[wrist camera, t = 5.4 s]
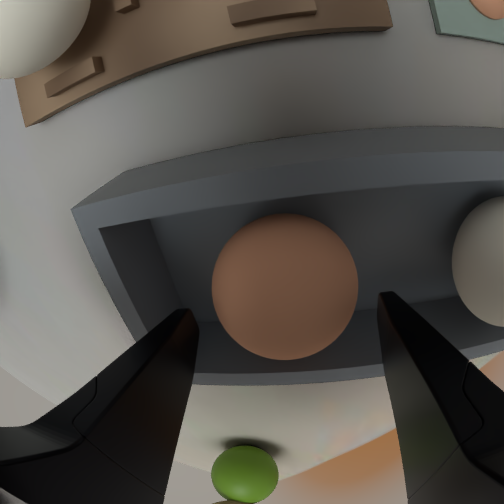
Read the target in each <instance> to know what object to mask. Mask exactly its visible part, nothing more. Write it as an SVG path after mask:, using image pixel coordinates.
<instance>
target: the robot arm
mask: <svg viewBox="0 0 504 504" xmlns="http://www.w3.org/2000/svg"><path fill="white" fill-rule="evenodd" d="M377 324H378V331H379V338H380V346H381V354H382V362H383V368H384V373H385V378H386V382H387V386H388V391H389V395H390V400H391V404H392V409H393V414H394V419H395V424H396V429H397V434H398V439H399V445H400V451H401V456H402V463H403V469H404V475H405V483H406V490H407V498H408V499H409V500H408V504H504V392H503V391H502V390H501V389H500V388H499V387H498V386H496V385H495V384H494V383H493V382H491V381H490V380H489V379H488V378H487V377H486V376H485V375H484V374H483V373H482V372H481V371H480V370H479V369H478V368H477V367H476V366H475V365H474V364H473V363H472V362H469V360H468V359H467V358H466V357H465V356H464V355H463V354H462V353H461V352H460V351H459V350H458V349H457V348H456V347H455V346H454V345H453V344H452V343H451V342H449V341H448V340H447V339H446V338H445V337H444V336H443V335H442V334H441V333H440V332H439V331H438V330H437V329H435V328H434V327H433V326H432V325H431V324H430V323H429V322H428V321H427V320H426V319H424V318H423V317H422V316H421V315H420V314H419V313H418V312H417V311H415V310H414V309H413V308H412V307H411V306H410V305H409V304H408V303H406V302H405V301H404V300H403V299H402V298H401V297H400V296H398V295H397V294H396V293H395V292H394V291H385V292H380V293H379V294H378V304H377ZM199 335H200V331H199V327H198V324H197V322H196V319H195V317H194V315H193V312H192V310H191V309H189V308H178V309H176V310H175V311H173V312H172V313H171V314H170V315H169V316H167V317H166V318H165V319H164V320H163V321H161V322H160V323H159V324H158V325H157V326H155V327H154V328H153V329H152V330H151V331H149V332H148V333H147V334H146V335H145V336H143V337H142V338H141V339H140V340H139V341H137V342H136V343H135V344H134V345H133V346H131V347H130V348H129V349H128V350H126V351H125V352H124V353H123V354H122V355H120V356H119V357H118V358H117V359H116V360H115V361H113V362H112V363H111V364H110V365H109V366H107V367H106V368H105V369H104V370H103V371H101V372H100V373H99V374H98V375H97V376H95V377H94V378H93V379H92V380H91V381H89V382H88V383H87V384H86V385H84V386H83V387H82V388H81V389H79V390H78V391H77V392H76V393H74V394H73V395H72V396H70V397H69V398H68V399H66V400H65V401H63V402H62V403H61V404H59V405H58V406H56V407H55V408H54V409H52V410H51V411H49V412H48V413H46V414H45V415H44V416H42V417H41V418H39V419H38V420H36V421H35V422H33V423H30V424H28V425H25V426H19V427H0V504H163V502H164V495H165V492H166V488H167V484H168V479H169V475H170V471H171V467H172V462H173V458H174V454H175V450H176V446H177V442H178V438H179V433H180V429H181V425H182V421H183V417H184V413H185V409H186V405H187V401H188V398H189V394H190V390H191V386H192V382H193V377H194V371H195V364H196V357H197V349H198V342H199Z"/></svg>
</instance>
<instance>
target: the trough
mask: <svg viewBox="0 0 504 504" xmlns="http://www.w3.org/2000/svg"><path fill="white" fill-rule="evenodd" d="M499 196H504V128H490V127H461V126H424V127H394V128H376V129H362V130H350V131H339V132H329V133H320V134H311V135H303V136H296V137H288V138H281V139H274V140H268V141H262V142H256V143H250V144H244V145H238V146H233V147H228V148H222V149H217V150H212V151H207V152H203V153H198V154H193V155H189V156H184V157H180V158H176V159H171V160H167V161H163V162H159V163H155V164H151V165H147V166H144V167H140V168H136V169H132V170H129V171H125V172H123V173H121V174H120V175H118V176H117V177H115V178H114V179H112V180H111V181H109V182H108V183H106V184H105V185H104V186H102V187H101V188H99V189H98V190H96V191H95V192H94V193H92V194H91V195H89V196H88V197H87V198H85V199H84V200H82V201H81V202H80V203H78V204H77V205H76V206H74V207H73V208H72V209H71V211H72V214H73V216H74V219H75V221H76V223H77V226H78V228H79V231H80V233H81V235H82V238H83V240H84V242H85V244H86V247H87V249H88V251H89V253H90V256H91V258H92V260H93V262H94V264H95V266H96V268H97V270H98V272H99V274H100V277H101V279H102V281H103V283H104V285H105V287H106V289H107V290H108V292H109V294H110V296H111V298H112V300H113V302H114V304H115V306H116V308H117V309H118V311H119V313H120V315H121V317H122V319H123V320H124V322H125V324H126V326H127V327H128V329H129V331H130V333H131V334H132V336H133V338H134V340H135V341H136V342H137V341H139V340H140V339H141V338H142V337H143V336H145V335H146V334H147V333H148V332H149V331H151V330H152V329H153V328H154V327H155V326H157V325H158V324H159V323H160V322H161V321H163V320H164V319H165V318H166V317H167V316H169V315H170V314H171V313H172V312H173V311H175V310H176V309H178V308H189V309H191V310H192V312H193V315H194V317H195V319H196V322H197V324H198V327H199V331H200V335H199V342H198V349H197V357H196V364H195V371H194V377H193V382H192V384H200V385H290V384H309V383H323V382H335V381H345V380H355V379H364V378H372V377H379V376H385V373H384V368H383V362H382V354H381V346H380V338H379V331H378V324H377V304H378V294H379V293H380V292H385V291H394V292H395V293H396V294H397V295H398V296H400V297H401V298H402V299H403V300H404V301H405V302H406V303H408V304H409V305H410V306H411V307H412V308H413V309H414V310H415V311H417V312H418V313H419V314H420V315H421V316H422V317H423V318H424V319H426V320H427V321H428V322H429V323H430V324H431V325H432V326H433V327H434V328H435V329H437V330H438V331H439V332H440V333H441V334H442V335H443V336H444V337H445V338H446V339H447V340H448V341H449V342H451V343H452V344H453V345H454V346H455V347H456V348H457V349H458V350H459V351H460V352H461V353H462V354H463V355H464V356H465V357H466V358H467V359H468V360H469V359H473V358H477V357H481V356H485V355H489V354H492V353H496V352H499V351H503V350H504V327H501V326H495V325H491V324H488V323H486V322H484V321H482V320H481V319H479V318H478V317H476V316H475V315H474V314H473V313H472V312H471V311H470V310H469V309H468V308H467V307H466V305H465V304H464V302H463V301H462V299H461V297H460V296H459V293H458V291H457V289H456V286H455V282H454V279H453V273H452V252H453V246H454V242H455V239H456V235H457V233H458V230H459V228H460V226H461V224H462V223H463V221H464V220H465V218H466V217H467V216H468V215H469V213H470V212H471V211H472V210H473V209H474V208H476V207H477V206H478V205H480V204H481V203H483V202H485V201H487V200H489V199H491V198H494V197H499ZM282 213H289V214H298V215H303V216H307V217H310V218H313V219H315V220H317V221H319V222H321V223H322V224H324V225H326V226H327V227H329V228H330V229H331V230H332V231H333V232H335V233H336V234H337V235H338V236H339V237H340V239H341V240H342V241H343V242H344V244H345V245H346V247H347V248H348V250H349V251H350V253H351V256H352V258H353V260H354V263H355V266H356V270H357V276H358V296H357V302H356V306H355V309H354V313H353V315H352V317H351V319H350V321H349V323H348V325H347V326H346V328H345V329H344V331H343V332H342V333H341V334H340V335H339V336H338V337H337V339H336V340H334V341H333V342H332V343H331V344H330V345H328V346H327V347H325V348H324V349H322V350H321V351H319V352H317V353H315V354H312V355H310V356H307V357H303V358H299V359H293V360H276V359H270V358H266V357H262V356H260V355H257V354H255V353H252V352H250V351H248V350H247V349H245V348H244V347H242V346H241V345H240V344H238V343H237V342H236V341H235V340H234V339H233V338H232V337H231V336H230V335H229V334H228V333H227V331H226V330H225V328H224V327H223V325H222V324H221V322H220V320H219V318H218V316H217V313H216V311H215V307H214V304H213V298H212V275H213V271H214V267H215V264H216V261H217V258H218V256H219V254H220V252H221V250H222V249H223V247H224V246H225V244H226V243H227V242H228V240H229V239H230V238H231V237H232V236H233V235H234V234H235V233H236V232H237V231H238V230H239V229H241V228H242V227H244V226H245V225H247V224H248V223H250V222H252V221H254V220H256V219H258V218H261V217H264V216H267V215H273V214H282Z"/></svg>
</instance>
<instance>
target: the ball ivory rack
mask: <svg viewBox="0 0 504 504" xmlns="http://www.w3.org/2000/svg"><path fill="white" fill-rule="evenodd" d="M90 3H91V0H0V78H2V79H11V78H19V77H23V76H27V75H30V74H32V73H34V72H37V71H39V70H41V69H43V68H44V67H46V66H48V65H49V64H51V63H52V62H54V61H55V60H56V59H57V58H59V57H60V56H61V55H62V54H63V53H64V52H65V51H66V50H67V49H68V48H69V47H70V46H71V44H72V43H73V42H74V40H75V39H76V38H77V36H78V35H79V33H80V31H81V30H82V28H83V26H84V23H85V21H86V19H87V16H88V12H89V9H90Z"/></svg>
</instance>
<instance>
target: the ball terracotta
mask: <svg viewBox="0 0 504 504" xmlns="http://www.w3.org/2000/svg"><path fill="white" fill-rule="evenodd" d="M357 296H358V276H357V270H356V266H355V263H354V260H353V258H352V256H351V253H350V251H349V250H348V248H347V247H346V245H345V244H344V242H343V241H342V240H341V239H340V237H339V236H338V235H337V234H336V233H335V232H333V231H332V230H331V229H330V228H329V227H327V226H326V225H324V224H322V223H321V222H319V221H317V220H315V219H313V218H310V217H307V216H303V215H298V214H289V213H282V214H273V215H267V216H264V217H261V218H258V219H256V220H254V221H252V222H250V223H248V224H247V225H245V226H244V227H242V228H241V229H239V230H238V231H237V232H236V233H235V234H234V235H233V236H232V237H231V238H230V239H229V240H228V242H227V243H226V244H225V246H224V247H223V249H222V250H221V252H220V254H219V256H218V258H217V261H216V264H215V267H214V271H213V275H212V298H213V304H214V307H215V311H216V313H217V316H218V318H219V320H220V322H221V324H222V325H223V327H224V328H225V330H226V331H227V333H228V334H229V335H230V336H231V337H232V338H233V339H234V340H235V341H236V342H237V343H238V344H240V345H241V346H242V347H244V348H245V349H247V350H248V351H250V352H252V353H255V354H257V355H260V356H262V357H266V358H270V359H276V360H293V359H299V358H303V357H307V356H310V355H312V354H315V353H317V352H319V351H321V350H322V349H324V348H325V347H327V346H328V345H330V344H331V343H332V342H333V341H334V340H336V339H337V337H338V336H339V335H340V334H341V333H342V332H343V331H344V329H345V328H346V326H347V325H348V323H349V321H350V319H351V317H352V315H353V313H354V309H355V306H356V302H357Z"/></svg>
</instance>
